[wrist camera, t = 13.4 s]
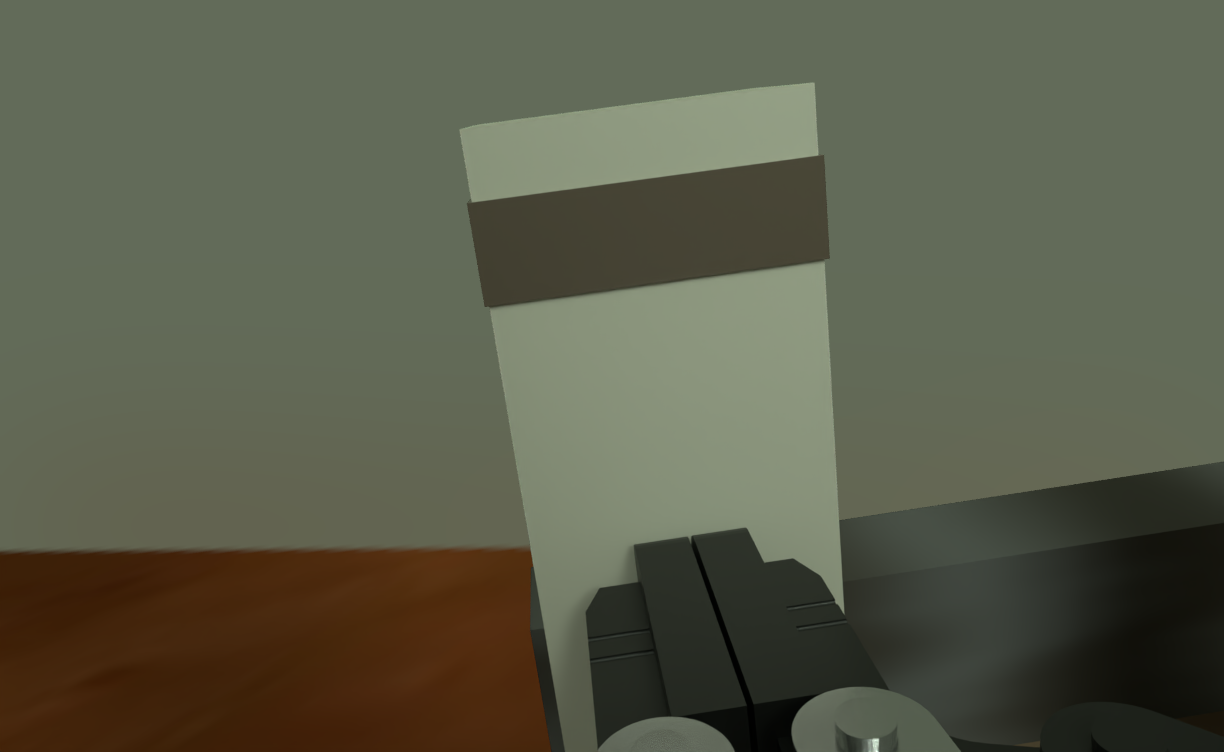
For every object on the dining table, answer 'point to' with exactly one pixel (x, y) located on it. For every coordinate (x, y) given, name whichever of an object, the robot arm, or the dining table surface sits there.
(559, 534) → the white tall block
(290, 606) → the dining table surface
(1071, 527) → the dark grey block stand
